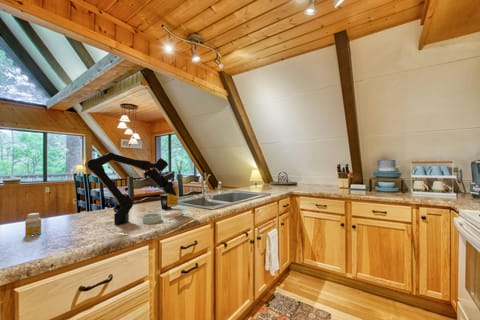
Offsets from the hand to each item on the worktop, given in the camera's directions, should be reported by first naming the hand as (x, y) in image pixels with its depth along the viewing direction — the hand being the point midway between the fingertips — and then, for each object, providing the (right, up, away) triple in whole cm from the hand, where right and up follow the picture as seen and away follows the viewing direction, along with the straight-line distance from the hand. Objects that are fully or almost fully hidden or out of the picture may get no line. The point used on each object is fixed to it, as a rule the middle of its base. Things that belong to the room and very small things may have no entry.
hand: (174, 194), depth 136 cm
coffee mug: (-11, -13, +19) cm, 26 cm away
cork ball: (-8, -12, -15) cm, 21 cm away
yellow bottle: (-1, -7, -1) cm, 7 cm away
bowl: (-8, -13, -15) cm, 22 cm away
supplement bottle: (-56, -14, -34) cm, 67 cm away
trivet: (-1, -13, 0) cm, 13 cm away
